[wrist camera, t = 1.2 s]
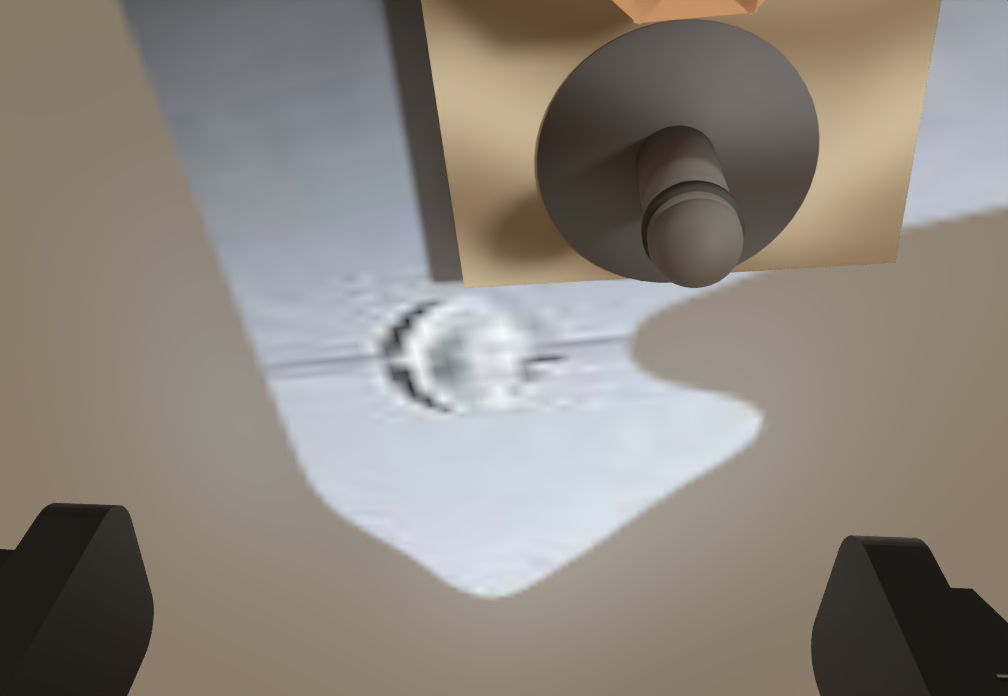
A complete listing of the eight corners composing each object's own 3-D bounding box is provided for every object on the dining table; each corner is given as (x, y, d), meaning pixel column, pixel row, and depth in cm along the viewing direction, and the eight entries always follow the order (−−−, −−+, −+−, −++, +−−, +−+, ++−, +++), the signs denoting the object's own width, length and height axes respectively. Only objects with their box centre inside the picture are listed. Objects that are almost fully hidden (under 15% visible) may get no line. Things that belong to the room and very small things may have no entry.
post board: (379, -347, 21) (299, -379, 15) (991, -433, 19) (1191, -509, 13) (469, 270, 31) (444, 409, 25) (880, 245, 29) (966, 386, 23)
